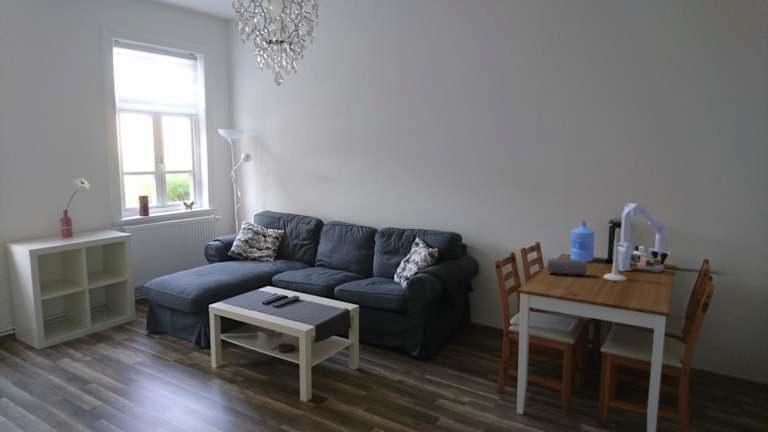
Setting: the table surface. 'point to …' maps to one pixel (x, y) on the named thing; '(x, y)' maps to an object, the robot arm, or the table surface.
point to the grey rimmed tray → (649, 266)
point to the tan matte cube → (658, 262)
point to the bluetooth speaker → (567, 266)
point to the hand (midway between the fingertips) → (658, 263)
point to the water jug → (582, 243)
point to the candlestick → (615, 263)
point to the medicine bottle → (638, 254)
